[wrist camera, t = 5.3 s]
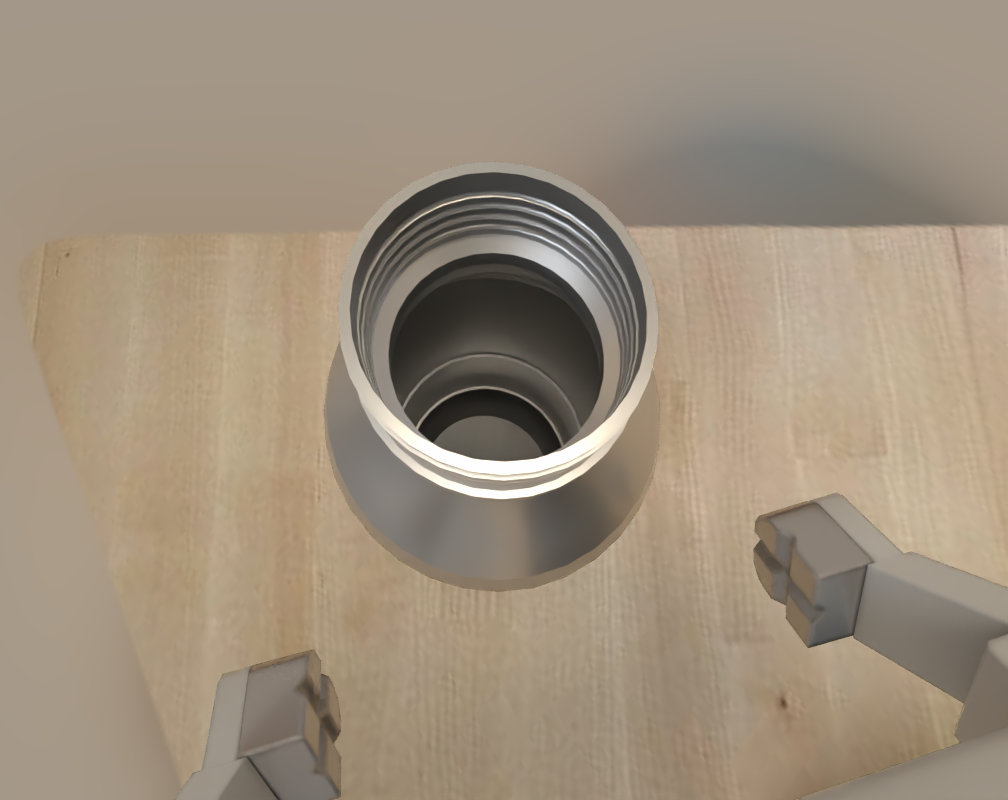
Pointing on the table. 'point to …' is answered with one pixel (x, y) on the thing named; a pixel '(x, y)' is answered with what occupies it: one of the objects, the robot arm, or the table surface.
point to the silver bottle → (494, 377)
